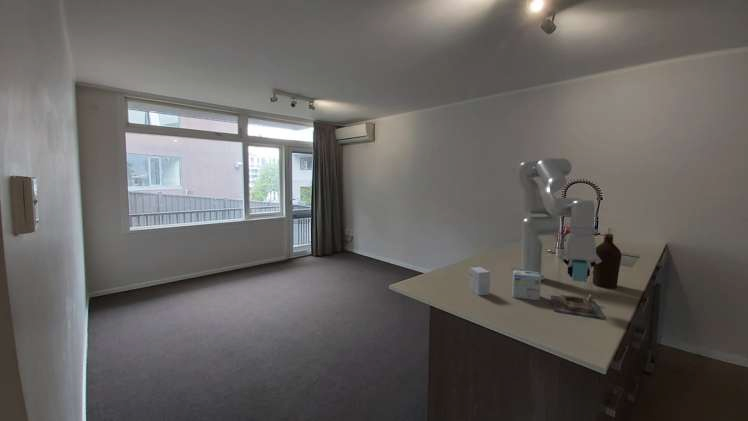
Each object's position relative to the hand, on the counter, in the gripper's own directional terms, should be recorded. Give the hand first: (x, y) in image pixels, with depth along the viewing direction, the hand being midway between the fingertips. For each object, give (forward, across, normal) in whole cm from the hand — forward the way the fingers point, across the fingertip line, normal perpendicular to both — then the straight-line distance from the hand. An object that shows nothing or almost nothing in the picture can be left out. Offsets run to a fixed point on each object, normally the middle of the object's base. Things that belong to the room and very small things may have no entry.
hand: (578, 276), depth 124 cm
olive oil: (+13, -17, -36) cm, 41 cm away
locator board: (+13, 0, -1) cm, 13 cm away
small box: (+13, +37, -2) cm, 40 cm away
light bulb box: (+13, +18, -5) cm, 23 cm away
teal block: (+1, 0, 0) cm, 1 cm away
